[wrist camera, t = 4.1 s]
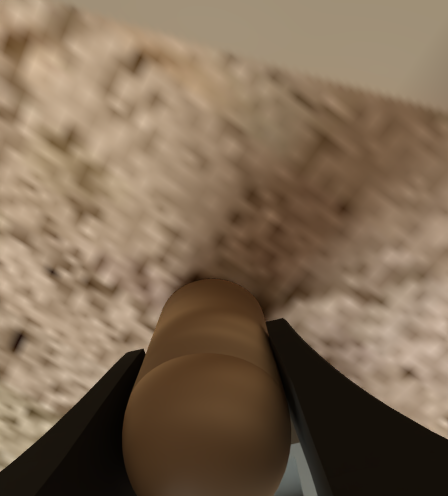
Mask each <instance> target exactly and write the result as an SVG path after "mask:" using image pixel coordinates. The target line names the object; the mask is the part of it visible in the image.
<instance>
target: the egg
mask: <svg viewBox="0 0 448 496" xmlns="http://www.w3.org/2000/svg"><path fill="white" fill-rule="evenodd" d="M290 447H291V419H290V412H289V407H288V403H287V399H286V395H285V392H284V388H283V384H282V381H281V377H280V373H279V370H278V367H277V363H276V360H275V358H274V354H273V350H272V346H271V343H270V339H269V335H268V330H267V326H266V322H265V318H264V314H263V311H262V309H261V307H260V304H259V303H258V301H257V300H256V298H255V297H254V296H253V295H252V294H251V293H250V292H248V291H247V290H246V289H245V288H243V287H241V286H240V285H237V284H235V283H233V282H230V281H226V280H221V279H203V280H198V281H194V282H191V283H189V284H187V285H185V286H183V287H181V288H180V289H178V290H177V291H176V292H175V293H174V294H173V295H172V296H171V297H170V298H169V299H168V301H167V302H166V304H165V306H164V307H163V310H162V312H161V315H160V318H159V320H158V323H157V326H156V328H155V331H154V334H153V336H152V339H151V342H150V344H149V347H148V350H147V352H146V355H145V358H144V360H143V363H142V366H141V368H140V371H139V374H138V376H137V379H136V382H135V384H134V387H133V390H132V392H131V395H130V398H129V401H128V404H127V407H126V411H125V415H124V422H123V429H122V452H123V458H124V464H125V468H126V472H127V475H128V478H129V481H130V483H131V485H132V488H133V490H134V491H135V493H136V495H137V496H273V495H274V494H275V492H276V490H277V489H278V487H279V485H280V483H281V480H282V478H283V475H284V473H285V471H286V467H287V463H288V459H289V454H290Z"/></svg>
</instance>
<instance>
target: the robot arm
mask: <svg viewBox="0 0 448 496" xmlns="http://www.w3.org/2000/svg"><path fill="white" fill-rule="evenodd" d="M266 326H267V330H268V335H269V339H270V343H271V346H272V350H273V354H274V358H275V360H276V363H277V367H278V370H279V373H280V377H281V381H282V384H283V388H284V392H285V395H286V399H287V403H288V407H289V412H290V417H291V419H292V422H293V425H294V428H295V430H296V433H297V436H298V439H299V442H300V444H301V447H302V450H303V453H304V456H305V458H306V461H307V464H308V467H309V470H310V473H311V476H312V479H313V482H314V485H315V489H316V492H317V496H448V439H446V438H444V437H442V436H440V435H438V434H436V433H434V432H432V431H430V430H429V429H427V428H425V427H423V426H422V425H420V424H418V423H416V422H415V421H413V420H411V419H410V418H408V417H406V416H404V415H403V414H401V413H399V412H397V411H396V410H394V409H392V408H391V407H389V406H387V405H386V404H384V403H383V402H381V401H380V400H378V399H377V398H375V397H374V396H372V395H370V394H369V393H368V392H366V391H365V390H363V389H362V388H360V387H359V386H358V385H356V384H355V383H353V382H352V381H351V380H349V379H348V378H347V377H345V376H344V375H343V374H341V373H340V372H339V371H338V370H336V369H335V368H334V367H333V366H332V365H330V364H329V363H328V362H327V361H326V360H324V359H323V358H322V357H321V356H320V355H319V354H318V353H317V352H316V351H315V350H313V349H312V348H311V347H310V346H309V345H308V344H307V343H306V342H305V341H304V340H303V339H302V338H301V337H300V336H299V335H298V334H297V333H296V332H295V330H294V329H293V328H292V327H291V326H290V324H289V323H288V322H287V321H286V320H285V319H283V318H282V319H277V320H273V321H268V322H266ZM145 355H146V354H145V351H144V349H140V350H135V351H131V352H127V353H126V354H125V355H124V356H123V357H122V358H121V359H120V360H119V361H118V362H117V363H116V364H115V365H114V366H113V367H112V368H111V369H110V370H109V371H108V372H107V373H106V374H105V375H104V376H103V377H102V378H101V379H100V380H99V381H98V382H97V383H96V384H95V385H94V386H93V387H92V388H91V389H90V390H89V392H88V393H87V394H86V395H85V396H84V397H83V398H82V399H81V400H80V401H79V402H78V403H77V404H76V405H75V406H74V407H73V408H72V409H70V410H69V411H68V412H67V413H66V414H65V415H64V416H63V417H62V418H61V419H60V420H59V421H58V422H57V423H56V424H55V425H54V426H53V427H52V428H51V429H50V430H49V431H48V432H47V433H45V434H44V435H43V436H42V437H41V438H40V439H39V440H38V441H37V442H35V443H34V444H33V445H32V446H31V447H30V448H28V449H27V450H26V451H25V452H24V453H23V454H21V455H20V456H19V457H18V458H17V459H16V460H14V461H13V462H12V463H11V464H10V465H8V466H7V467H6V468H5V469H3V470H2V471H1V472H0V496H137V495H136V493H135V491H134V490H133V488H132V485H131V483H130V481H129V478H128V475H127V472H126V468H125V464H124V458H123V452H122V429H123V422H124V415H125V411H126V407H127V404H128V401H129V398H130V395H131V392H132V390H133V387H134V384H135V382H136V379H137V376H138V374H139V371H140V368H141V366H142V363H143V360H144V358H145Z"/></svg>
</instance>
